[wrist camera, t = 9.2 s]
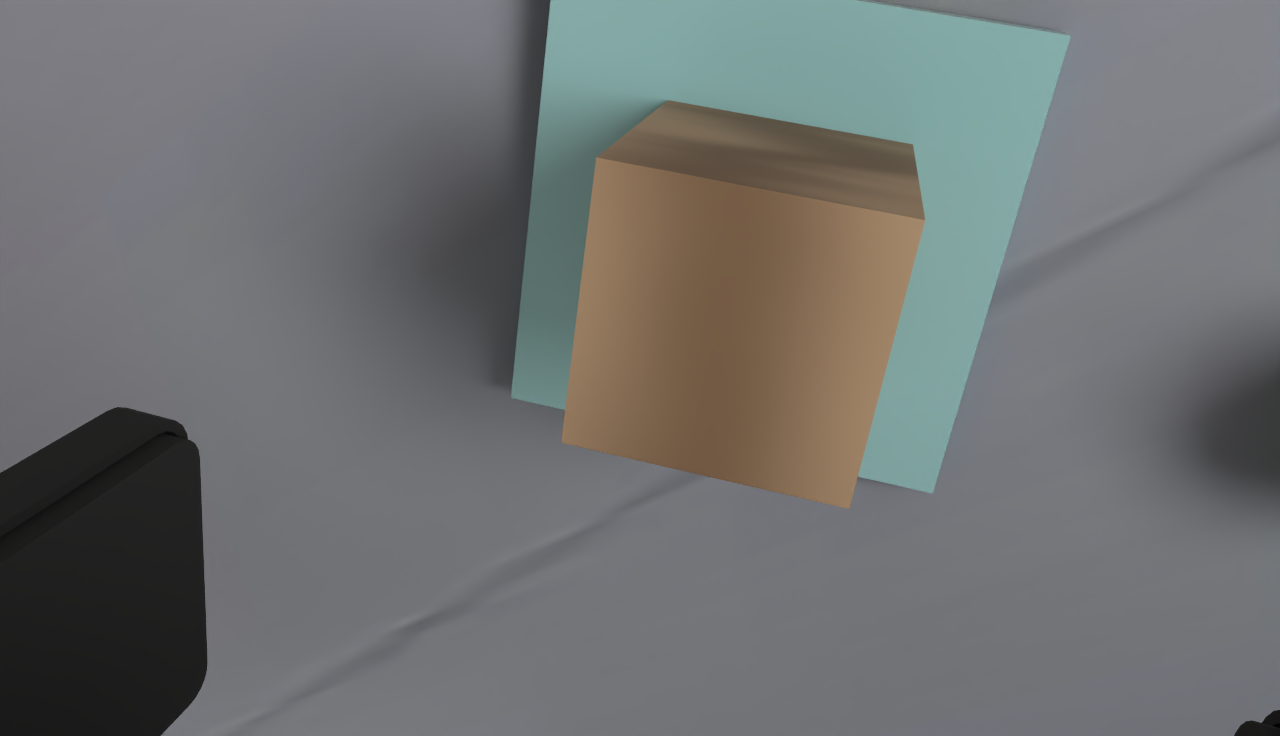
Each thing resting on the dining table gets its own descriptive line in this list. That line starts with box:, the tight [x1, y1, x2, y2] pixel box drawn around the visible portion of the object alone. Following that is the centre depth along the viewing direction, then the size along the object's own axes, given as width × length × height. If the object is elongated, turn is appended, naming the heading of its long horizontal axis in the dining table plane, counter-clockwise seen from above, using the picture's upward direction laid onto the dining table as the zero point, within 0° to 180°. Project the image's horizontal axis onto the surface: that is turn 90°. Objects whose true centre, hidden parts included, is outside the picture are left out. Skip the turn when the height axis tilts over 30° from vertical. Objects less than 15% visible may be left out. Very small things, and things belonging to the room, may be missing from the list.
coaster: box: [511, 0, 1071, 494], centre depth 22 cm, size 10×10×1 cm
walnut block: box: [561, 100, 925, 509], centre depth 19 cm, size 5×5×6 cm
